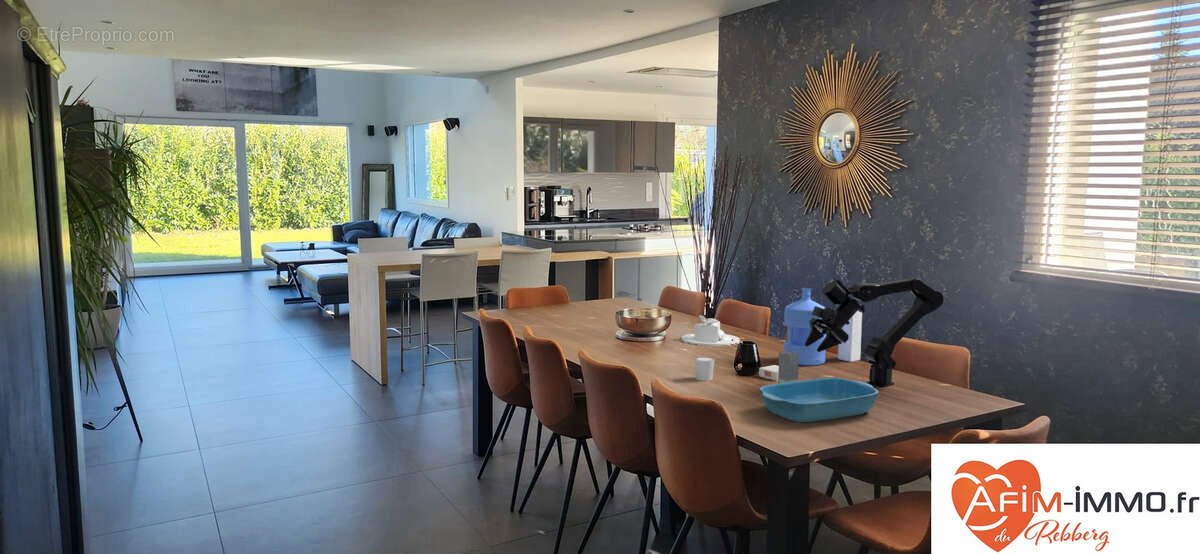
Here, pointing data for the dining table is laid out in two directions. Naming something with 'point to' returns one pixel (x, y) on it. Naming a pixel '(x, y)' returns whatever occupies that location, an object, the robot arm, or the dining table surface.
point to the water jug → (802, 330)
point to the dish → (709, 334)
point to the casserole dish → (818, 399)
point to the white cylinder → (704, 368)
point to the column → (788, 367)
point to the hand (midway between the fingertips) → (811, 348)
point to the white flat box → (769, 372)
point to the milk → (852, 339)
